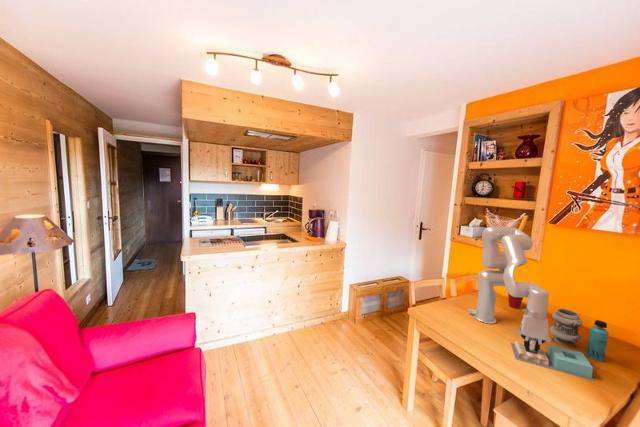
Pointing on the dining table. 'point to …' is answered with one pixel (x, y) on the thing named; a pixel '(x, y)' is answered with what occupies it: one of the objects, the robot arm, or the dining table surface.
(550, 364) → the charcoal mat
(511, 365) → the dining table surface
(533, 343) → the steel pin
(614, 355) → the dining table surface
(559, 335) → the apothecary jar
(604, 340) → the beverage bottle
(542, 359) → the ash mount
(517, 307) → the plastic cup
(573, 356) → the teal dock
